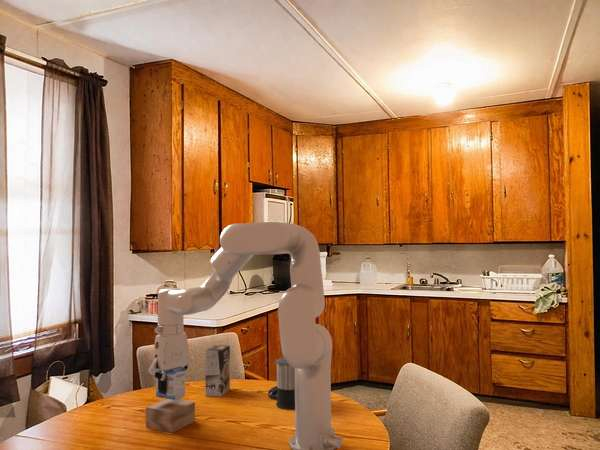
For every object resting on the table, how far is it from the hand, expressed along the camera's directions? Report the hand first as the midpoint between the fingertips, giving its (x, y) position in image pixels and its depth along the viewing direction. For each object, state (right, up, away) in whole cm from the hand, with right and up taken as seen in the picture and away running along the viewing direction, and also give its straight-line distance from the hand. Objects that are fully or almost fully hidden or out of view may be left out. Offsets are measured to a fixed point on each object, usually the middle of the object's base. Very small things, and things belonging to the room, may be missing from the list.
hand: (170, 390), depth 141 cm
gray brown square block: (0, -10, 0) cm, 10 cm away
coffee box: (+9, -11, +30) cm, 33 cm away
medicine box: (0, -2, 0) cm, 2 cm away
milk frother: (+34, -11, +19) cm, 40 cm away
